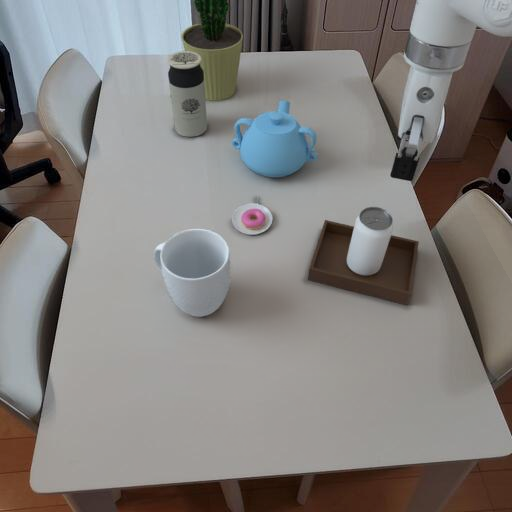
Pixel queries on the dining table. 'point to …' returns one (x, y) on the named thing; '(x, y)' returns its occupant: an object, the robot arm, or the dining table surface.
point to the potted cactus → (215, 48)
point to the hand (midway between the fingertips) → (404, 158)
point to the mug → (195, 270)
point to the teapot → (274, 143)
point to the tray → (377, 285)
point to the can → (369, 241)
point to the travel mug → (187, 93)
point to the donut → (252, 219)
